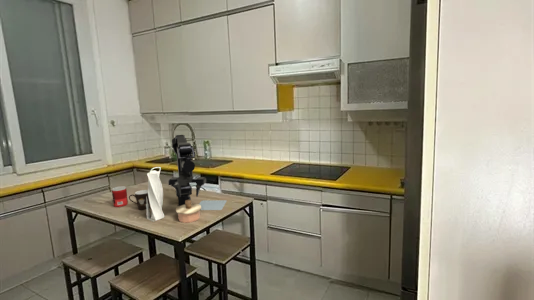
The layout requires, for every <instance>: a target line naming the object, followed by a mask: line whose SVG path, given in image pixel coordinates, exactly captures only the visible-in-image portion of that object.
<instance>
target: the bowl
mask: <svg viewBox="0 0 534 300" xmlns="http://www.w3.org/2000/svg"><path fill="white" fill-rule="evenodd" d="M177 218H178V222H180V223H185V224H187V223H189V224H190V223H193V222H196V221H198V220H199V219H200V218H201V210H200V211H198V212H196V213H192V214H179V213H177Z"/></svg>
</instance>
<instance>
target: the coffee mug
mask: <svg viewBox="0 0 534 300" xmlns="http://www.w3.org/2000/svg"><path fill="white" fill-rule="evenodd" d="M131 197H134V199H135V201H134V200H132V199H131ZM146 197H147V199H146ZM128 200H129V201H130V202H131V203H132V204H133V203H134V204H135V205H137V209H138V210H139V211H147V210H146V204H147V203H146V200H148V204H149V209H151V206H150V202H149V197H148V189H141V190H137V191H135V192H134V194H130V195H129V196H128Z"/></svg>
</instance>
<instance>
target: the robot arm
mask: <svg viewBox="0 0 534 300" xmlns="http://www.w3.org/2000/svg"><path fill="white" fill-rule="evenodd" d="M193 146H194V145H192V144H191V143H190V142H188V140H187V138H186V137H185V135H184V134H176V135H175V136H174V138H172V139H171V148H172V149H173V151H172V152H174V154H175V155H176V163H177V171H178V172H177V173H178V176H177V177H175V176H174V177H171V178H170V179H168V183H167V184H168V186H170V187H173V188H174V190H175V195H176V198H177V202H178V203H177V204H178V205H177V207H179V206H181V205H184V204H185V200H191V201H192V197H191V196H192V194H193V187H192V185H191V184H190V183H193V184H194V183H195V184H196V185H195V192H196V193H195V196H196V198H197V197H199V193H200V191H201V188H202V186H203V185H205V184H206V183H207V178H206V177H205V176H198V177H197V178H194V174H193V171H194V170H195V168H196V164H195V163H194V160H192V159H194V158H195V156H196V152H195V148H194V147H193Z"/></svg>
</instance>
